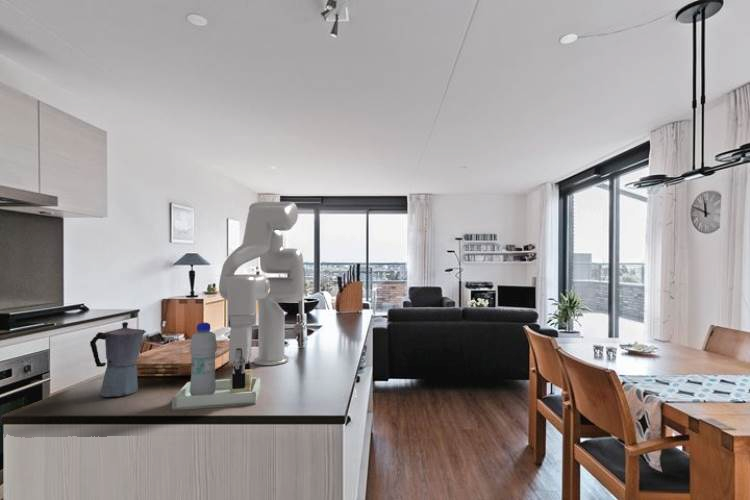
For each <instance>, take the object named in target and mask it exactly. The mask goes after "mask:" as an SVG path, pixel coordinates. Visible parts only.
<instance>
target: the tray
mask: <svg viewBox="0 0 750 500" xmlns="http://www.w3.org/2000/svg"><path fill="white" fill-rule="evenodd" d="M215 380H216V389H215V392H214V394H209V395H194V396H191V393H190V384H191V381H187V382H186V383H185V384H184V386H182V387H181V389H180V390H179V391H178V392H177V393H176V394H175V395H173V397H172V399H171V401H172V402H171V411H182V410H183V411H185V410H195V409H207V408H208V409H209V408H223V407H224V408H225V407H234V406H250V405H251V406H252V405H256V404H257V400H258V398H259V394H260V391H261V387H262V385H261V384H262V377H261V376H258V377H252V392H238V393H230V378H226V379H215Z"/></svg>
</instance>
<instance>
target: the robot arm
mask: <svg viewBox="0 0 750 500" xmlns="http://www.w3.org/2000/svg"><path fill="white" fill-rule="evenodd" d="M298 210H299V209H298V207H297V205H296V203H294V202H293V201H257V202H253V203H251V204H250V205H249V208H248V213H247V218H246V223H245V228H244V235H243V239H242V242H241V243H242V244H241V245H240V246H238V247H237V248H236V249H235V250H234V251H232V252H231V253H230V254H229V256H228V257H227V258H226V259H225V261H224V262H223V264H222V268H221V272H220V276H219V277H220V278H219V284H218V292H219V295H220V297H221V298H222V299H224V300H227V319H226V321H227V324H226V327H227V328H230V330H229V331H230V332H229V342H228V362H227V363H228V365H229V366H232V364H233V367H232V372H233V374H232V373H231V374H232V388H233V389H243V388H245V373H244V370H249V369H251V363H250V360H251V356H252V345H253V341H252V339H253V336H252V335H253V330H252V329H253V328H252V327H255V326H257V313H258V332H257V333H258V345H257V346H258V350H257V351H258V352H257V353H258V356H257V357H256V358H254V359H253V363H254V364H255V365H258V366H277V365H282V364H285V363H287V362H288V361H290V357H289V356H287V355H285V347H286V346H285V343H286V342H285V338H286V337H285V329H286V327H285V323H286V322H285V317H286V316H285V313H284V312H285V311H284V310H283V308H282V307H281V305H279V303H298V302H301V301H302V299H303V298H304V288H305V287H304V283H305V282H304V257H303V254H302V253H303V252H302V251H301V250H300V249H298V248H290V247H289V248H284V235H283V232H282V231H284V232H285V231H286V232H287V231H290V230H291V229H293V227H294V226H295V225H296V223H297V221H298V218H299V211H298ZM258 258H259V265H260V266H259V267H260V270H261V271H262V272H263V273H264V274H275V275H276V274H280V275H282V274H284V275H286V274H289V275H290V277H289V276H269V277H267V276H265V275H262V274H246V273H245V274H235V273H236V271H237V270H238V269H239V268H240V267H241V266H243V265H245V264H246V263H248V262H250V261H252V260H253V261H254V260H256V259H258ZM257 309H258V311H257Z"/></svg>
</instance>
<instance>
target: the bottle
mask: <svg viewBox="0 0 750 500" xmlns="http://www.w3.org/2000/svg"><path fill="white" fill-rule="evenodd" d="M216 336H217V335H216V333H214V332H212V331H211V324H210V322H199V323H198V324H197V325H196V332H195V333H193V334H192V335H191V339H190V344H189V349H190V350H189V353H190V355H191V357H190V358H191V363H190V365H191V366H190V367H191V369H190V375H191V376H190V382H191V384H190V393H191V396H194V395H209V394H214V392H215V389H216V380H217V379H216V352H217V346H218V343H217V337H216Z"/></svg>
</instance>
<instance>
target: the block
mask: <svg viewBox="0 0 750 500" xmlns="http://www.w3.org/2000/svg"><path fill="white" fill-rule="evenodd" d="M244 373H245V388H243V389H233V388H232V374H233V371H232V372H231V373H230V377H229V379H230V393H238V392H252V378H253V369H252V368H250V369H249V370H244Z"/></svg>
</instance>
